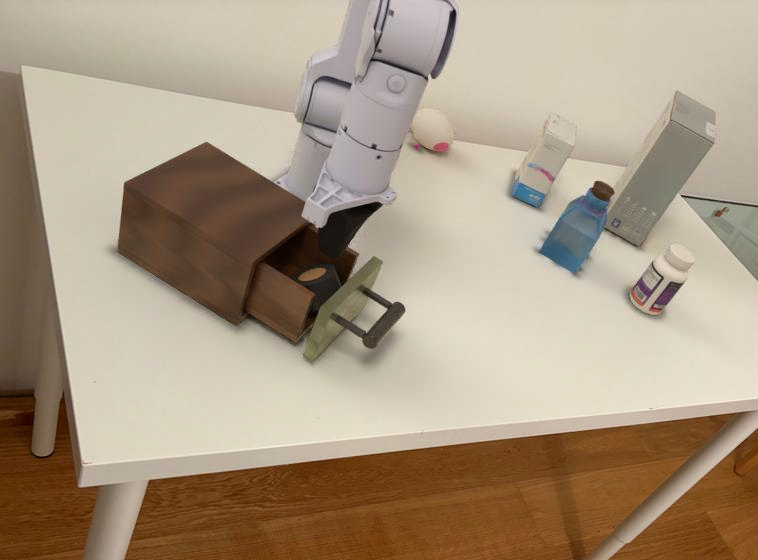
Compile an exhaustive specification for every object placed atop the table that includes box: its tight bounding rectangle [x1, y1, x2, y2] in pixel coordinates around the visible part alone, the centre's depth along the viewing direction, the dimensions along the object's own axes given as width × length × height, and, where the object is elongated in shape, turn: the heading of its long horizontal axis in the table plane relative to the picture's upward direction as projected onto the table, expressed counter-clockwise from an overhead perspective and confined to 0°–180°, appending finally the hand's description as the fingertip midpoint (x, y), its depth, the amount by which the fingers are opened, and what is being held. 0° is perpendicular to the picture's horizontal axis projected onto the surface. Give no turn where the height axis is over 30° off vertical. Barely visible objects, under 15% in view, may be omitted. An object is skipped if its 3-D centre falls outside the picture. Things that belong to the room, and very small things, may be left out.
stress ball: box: [411, 107, 456, 152], centre depth 113 cm, size 8×8×7 cm
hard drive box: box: [604, 90, 717, 247], centre depth 117 cm, size 16×8×20 cm, turn 160°
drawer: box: [244, 224, 406, 362], centre depth 74 cm, size 18×11×7 cm, turn 66°
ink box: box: [511, 111, 578, 209], centre depth 113 cm, size 9×5×12 cm, turn 168°
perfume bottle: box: [538, 180, 615, 275], centre depth 103 cm, size 6×6×12 cm
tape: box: [291, 264, 341, 311], centre depth 74 cm, size 5×5×3 cm
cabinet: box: [116, 141, 317, 327], centre depth 75 cm, size 15×13×9 cm
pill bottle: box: [629, 243, 696, 316], centre depth 103 cm, size 5×5×10 cm
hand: (329, 252), depth 71 cm, fingers closed
